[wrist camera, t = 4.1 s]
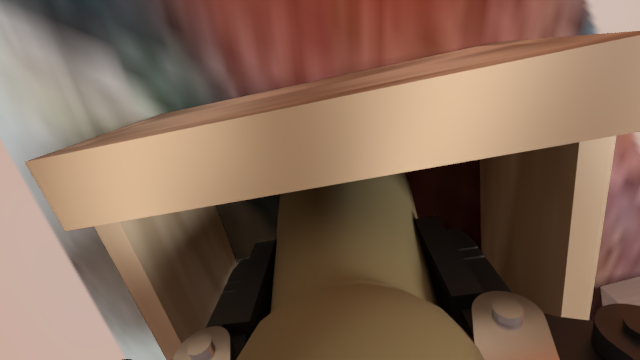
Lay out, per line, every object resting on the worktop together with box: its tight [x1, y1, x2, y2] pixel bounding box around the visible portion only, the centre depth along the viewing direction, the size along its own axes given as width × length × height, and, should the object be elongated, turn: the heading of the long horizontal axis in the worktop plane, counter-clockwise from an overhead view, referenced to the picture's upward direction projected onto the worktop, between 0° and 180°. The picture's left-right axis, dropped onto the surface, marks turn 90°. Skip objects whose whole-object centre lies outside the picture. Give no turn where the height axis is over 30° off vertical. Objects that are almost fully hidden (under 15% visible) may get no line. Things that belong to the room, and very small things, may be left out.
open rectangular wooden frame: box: [25, 31, 640, 360], centre depth 11 cm, size 14×11×6 cm
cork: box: [236, 172, 484, 360], centre depth 9 cm, size 6×6×11 cm
